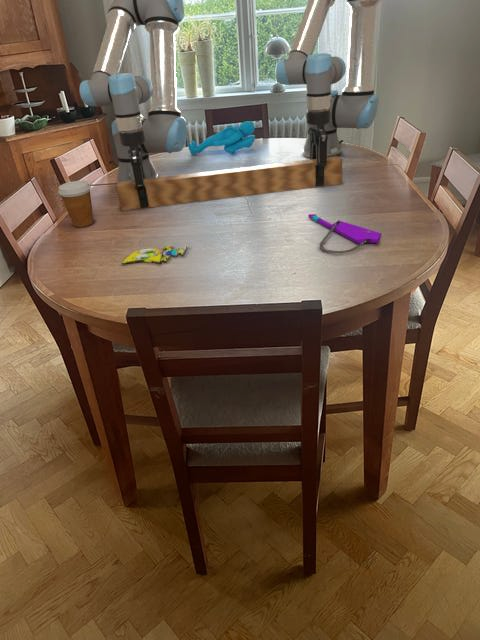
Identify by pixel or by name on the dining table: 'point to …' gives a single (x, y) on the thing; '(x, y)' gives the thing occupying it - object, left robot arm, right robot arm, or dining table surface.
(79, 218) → the disposable coffee cup
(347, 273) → the dining table surface
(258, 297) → the dining table surface
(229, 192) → the beam
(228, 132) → the toy
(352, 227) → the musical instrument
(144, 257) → the toy
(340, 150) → the right robot arm
